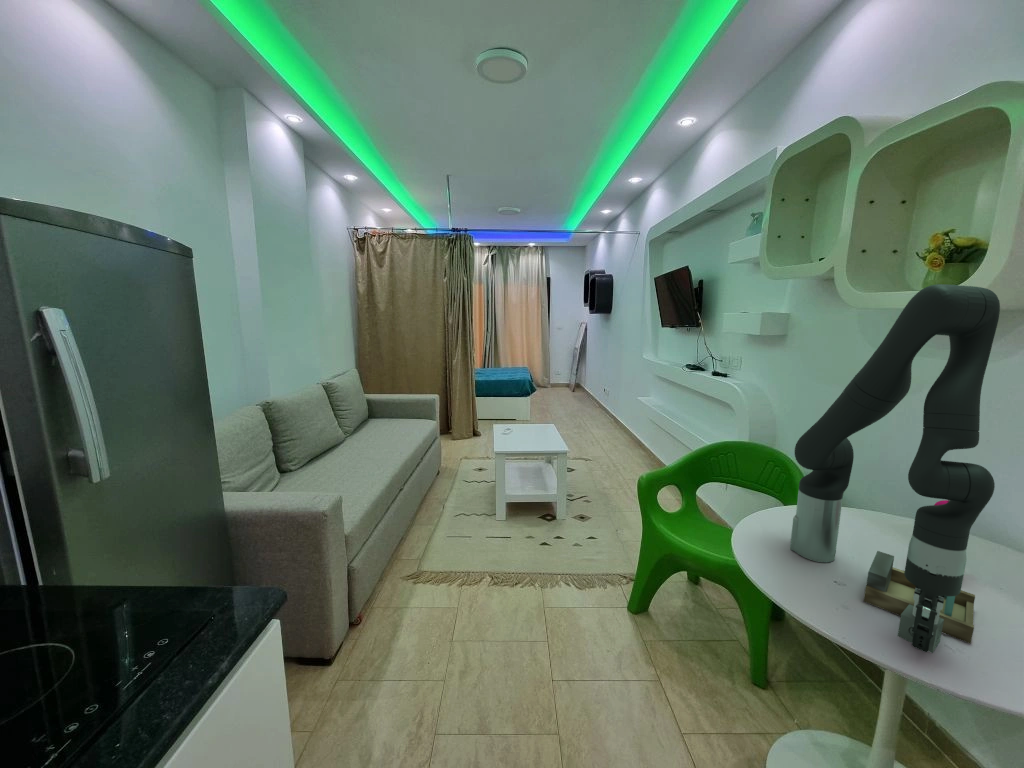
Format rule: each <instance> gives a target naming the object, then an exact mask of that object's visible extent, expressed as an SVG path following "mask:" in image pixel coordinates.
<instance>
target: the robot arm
mask: <svg viewBox="0 0 1024 768" xmlns="http://www.w3.org/2000/svg"><path fill="white" fill-rule="evenodd" d="M1000 313H1001V303H1000V299H999V297H998V295H997V294H996V293H995V292H994V291H992V290H991V289H989V288H985V287H982V286H981V287H980V286H972V285H960V284H959V285H958V284H956V285H955V284H945V283H944V284H939V283H937V284H931V285H929V286H926V287H924V288H923V289H920V290H919V291H918V292H916V293H915V294H914V295H913V296H912V297H911V298H910V299H909V301H908V302H907V303H906V305H905V306H904V308H903V309H902V311H901V313H900V314H899V315H898V317H897V319H896V320H895V321H894V323H893V325H892V326H891V328H890V329H889V331H888V332H887V334H886V336H885V338H883V340H882V342H881V343H880V344H879V346H878V347H877V348H876V350H875V351H874V352H873V353H872V355H871V357H870V358H869V359H868V360H867V361H866V363H864V366H863V367H862V368H860V370H859V371H858V372H857V373H856V374H855V375H854V377H853V378H852V379H851V380H850V382H849V383H848V384H847V385H846V386H845V388H844V389H843V390H842V391H841V393H840V395H839V396H838V397H837V398H836V399H835V401H834V402H833V403H832V404H831V405H830V407H828V409H827V410H826V411H825V413H824V414H822V416H821V417H820V418H819V419H818V420H817V421H816V422H815V423H814V424H813V425H812V426H811V427H809V429H807V430H806V431H805V432H804V433H803V434H802V435H801V436H800V437H799V439H798V440H797V441H796V443H795V446H794V457H795V460H796V462H797V463H798V464H799V465H800V466H801V467H802V468H804V469H806V470H810V471H811V472H809V473H808V474H806V475H804V476H803V477H801V478H800V480H799V483H798V492H797V493H798V494H797V503H796V511H795V515H794V516H793V518H792V525H791V527H792V528H791V536H790V545H789V549H790V551H793V552H795V553H796V554H797V555H800V556H801V557H802V558H805V559H808V560H809V561H810V560H811V561H813V562H818V563H831V562H833V561H835V558H836V554H837V544H838V537H839V536H838V535H839V530H840V523H841V522H840V521H841V514H842V507H843V498H844V493H845V491H846V490H847V489H848V487H849V485H850V484H849V483H850V481H851V480H850V479H851V474H852V469H853V465H854V464H853V463H854V457H855V455H854V448H853V445H852V443H851V441H850V439H849V437H850V436H853V434H856V433H858V432H860V431H862V430H863V429H865V428H868V427H869V426H871V425H872V424H874V423H876V422H878V421H879V420H881V419H883V418H884V417H886V416H887V415H888V414H890V412H891V411H893V410H894V409H895V407H897V405H898V404H900V402H901V401H902V400H903V399H904V398H905V397H906V396H907V395H908V393H909V391H910V389H911V385H912V366H913V361H914V359H915V357H916V356H917V354H918V353H919V352H920V351H921V350H922V348H923V347H924V346H925V345H926V344H927V343H928V342H929V341H930V340H931V339H932V338H933V337H935V336H948V337H949V355H948V359H947V360H946V361H947V362H946V364H945V366H944V368H943V370H941V373H940V374H939V376H938V377H937V378H936V380H935V381H934V382H933V383H932V385H931V387H930V389H929V390H928V392H927V394H926V396H925V399H924V403H923V416H922V417H923V419H922V422H923V423H922V427H923V428H922V435H921V436H922V437H921V440H920V443H919V446H918V448H917V452H916V453H915V456H914V459H913V460H912V463H911V465H910V468H909V470H908V474H907V479H908V483H909V485H910V488H911V489H912V490H913V491H914V492H915V493H916V494H917V495H919V496H921V497H925V498H930V499H938V500H950V501H949V502H947V503H946V504H942V505H934V504H933V505H924V506H921V507H918V509H916V512H915V517H914V523H913V531H912V535H911V536H910V540H909V543H908V546H907V547H908V549H907V553H906V554H907V555H906V561H905V565H904V571H905V572H904V575H905V577H906V579H907V580H908V581H909V582H911V583H912V584H913V585H915V586H916V587H915V591H914V597H913V599H914V601H915V602H914V607H913V613H912V614H913V615H914V616H915V622H914V624H913V627H912V629H913V632H914V634H913V640H912V643H911V646H912V647H913V648H915V649H917V650H920V651H921V652H924V653H927V652H929V651H928V649H929V643H930V639H931V638H932V637H933V627H934V624H938V620H939V615H940V610H942V609H943V603H944V596H956V595H958V594H960V592H961V590H962V585H963V582H964V581H963V580H964V575H965V571H966V565H967V549H968V548H967V547H968V544H969V543H968V542H969V537H970V531H971V529H972V527H973V526H974V524H975V522H976V521H977V519H978V517H979V516H980V514H981V513H982V511H984V509H985V508H986V506H987V504H989V502H990V500H991V498H993V494H994V491H995V487H996V486H995V479H994V477H993V475H992V474H991V472H990V471H989V470H988V469H987V468H985V467H984V466H982V465H980V464H977V463H970V462H959V461H953V460H952V461H951V460H942V458H943V456H945V454H946V453H947V452H950V451H953V450H954V451H955V450H969V449H974V448H976V447H977V446H978V445H979V443H980V422H981V421H980V419H981V418H980V417H981V416H980V415H981V411H980V410H981V394H982V388H983V382H984V378H985V374H986V372H987V371H986V369H987V366H988V362H989V361H990V360H989V359H990V355H991V351H992V348H993V343H994V339H995V335H996V331H997V328H998V324H999V319H1000ZM929 615H930V616H929ZM919 624H922V625H925V626H927V627H929V628H926V627H924V626H921V625H919Z"/></svg>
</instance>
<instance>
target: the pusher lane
mask: <svg viewBox="0 0 1024 768" xmlns="http://www.w3.org/2000/svg"><path fill="white" fill-rule="evenodd" d="M894 561H895V555H893V554H888V553H886V552H883V551H880V550H877V551H876V554H875V556H874V558H873V560H872V562H871V564H870V567H869V570H868V572H867V579H866V586H865V590H864V596H863V602H865V603H867V604H869V605H872V606H873V607H877V608H880V609H883V610H884V611H886V612H890V613H892V614H894V615H897V616H899V617H901V614H902V612H903V611H904V610H905V609H906V608H907V606H908V605H909V604H910V605H912V606H914V602H915V601H914V599H913V597H914V591H915V587H916V586H915V585H913V584H912V583H911V582H909V581H908V580H907V579H906V577H905V575H904V572H905V570H904V569H899V568H897V567H893V566H894ZM975 599H976V594H974V593H971V592H967V591H965V590H962V589H961V592H960V594H958V595H956V596H955V600H954V606H953V611H952V616H948V615H945V614H944V607H945V600H946V598H944V603H943V609H942V610H940V615H939V617H940V618H942V619H944V623H943V628H942V633H941V634H945V635H947V636H950V637H952V638H954V639H957V640H959V641H962V642H964V643H967V644H972V640H973V639H972V638H973V634H974V629H975V624H974V613H975V612H974V611H975V610H974V606H975Z"/></svg>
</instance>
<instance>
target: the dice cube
mask: <svg viewBox="0 0 1024 768" xmlns="http://www.w3.org/2000/svg"><path fill="white" fill-rule="evenodd" d="M913 607H914V606H912V605H910V604H909V605H908V606H907V608H906V609H905V610H904V611H903V612H902V614H901V616H899V617H900V619H899V624H898V632H897V637H899V638H901V639H903V640H905V641H907V642H909V643H911V644H912V640H913V634H914V632H913V629H912V627H913V624H914V622H915V616H914V615H913V614H912V613H913ZM929 616H930V615H929ZM943 623H944V619H942V618H940V617H939V620H938V624H934V627H933V637H932V638H931V639H930V643H929V649H928V652H929V653H931V654H933V653H934V652H935V650H936V648H937V647H938V645H939V644H940V643H941V637H942V634H943V633H942V628H943ZM919 625H921V626H924V627H926V628H929V627H927V626H925V625H922V624H919Z"/></svg>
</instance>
